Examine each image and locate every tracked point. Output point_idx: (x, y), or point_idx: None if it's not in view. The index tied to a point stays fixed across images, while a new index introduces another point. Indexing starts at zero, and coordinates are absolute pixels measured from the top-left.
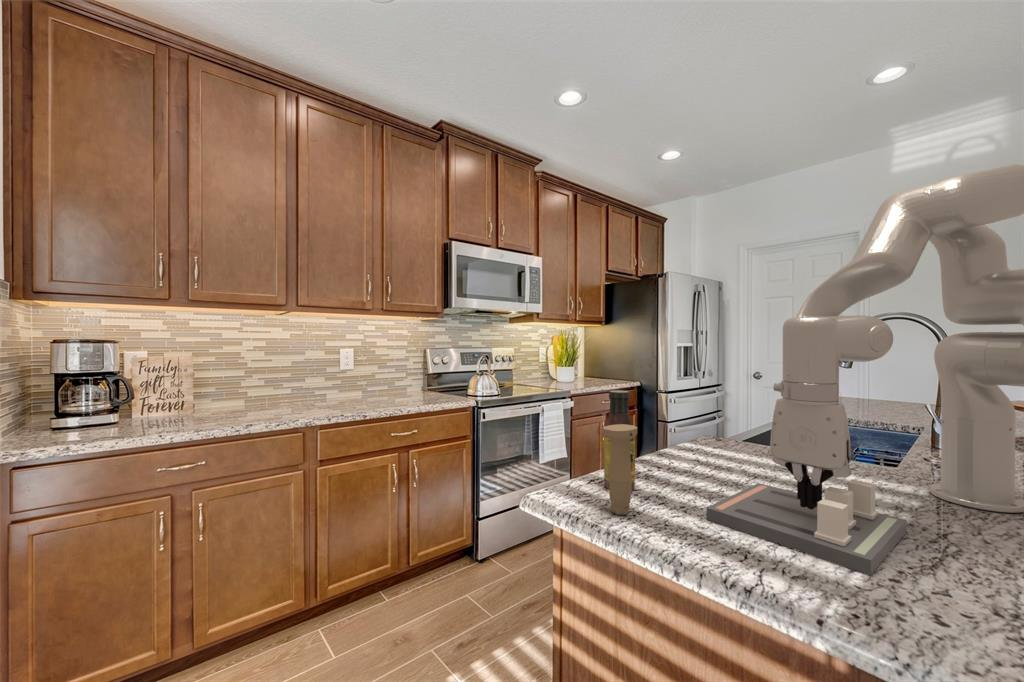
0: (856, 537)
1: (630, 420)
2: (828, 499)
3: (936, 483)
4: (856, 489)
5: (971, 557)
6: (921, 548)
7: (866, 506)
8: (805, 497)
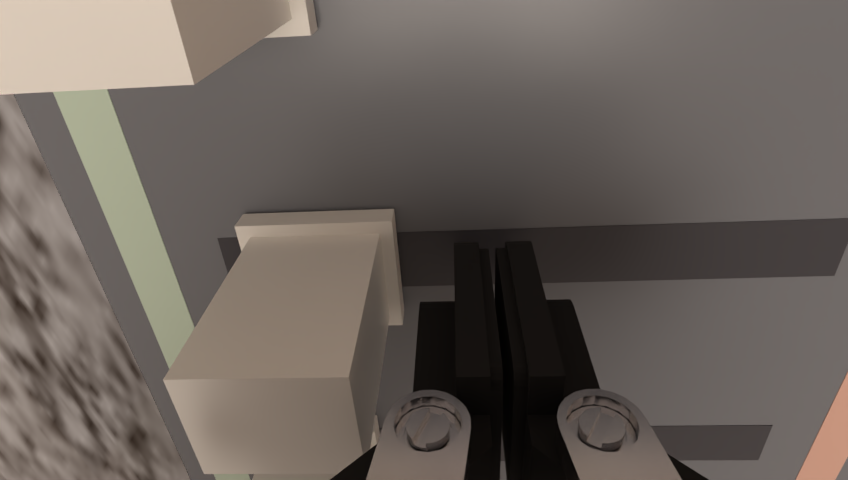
0: (166, 131)
1: None
2: (333, 320)
3: None
4: None
5: (6, 399)
6: (113, 357)
7: (273, 474)
8: (502, 289)
